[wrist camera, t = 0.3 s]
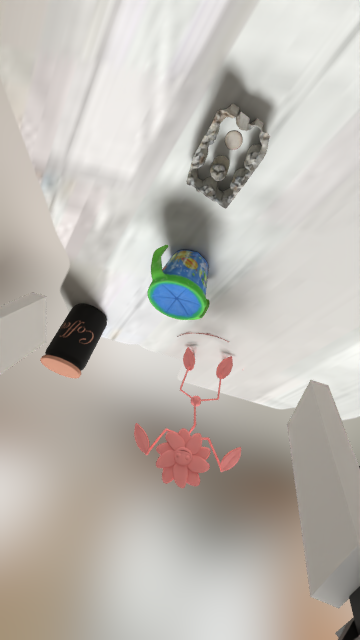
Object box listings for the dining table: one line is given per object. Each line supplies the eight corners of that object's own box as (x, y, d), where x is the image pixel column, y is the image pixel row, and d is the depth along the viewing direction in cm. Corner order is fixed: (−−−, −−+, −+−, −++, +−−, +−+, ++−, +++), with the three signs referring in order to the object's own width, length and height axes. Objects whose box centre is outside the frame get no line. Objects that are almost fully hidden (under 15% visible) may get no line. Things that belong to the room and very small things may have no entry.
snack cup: (147, 237, 53) (127, 275, 48) (197, 223, 48) (181, 264, 42) (184, 292, 63) (171, 329, 58) (228, 286, 58) (219, 326, 52)
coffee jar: (110, 312, 79) (80, 370, 69) (106, 329, 88) (79, 382, 78) (74, 296, 78) (38, 353, 68) (73, 315, 87) (41, 367, 77)
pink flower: (251, 371, 84) (230, 508, 64) (167, 351, 88) (124, 472, 69) (263, 344, 72) (242, 503, 52) (165, 322, 76) (111, 460, 56)
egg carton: (225, 92, 33) (218, 105, 30) (278, 129, 34) (275, 145, 32) (186, 170, 41) (178, 185, 39) (229, 198, 43) (224, 214, 41)
